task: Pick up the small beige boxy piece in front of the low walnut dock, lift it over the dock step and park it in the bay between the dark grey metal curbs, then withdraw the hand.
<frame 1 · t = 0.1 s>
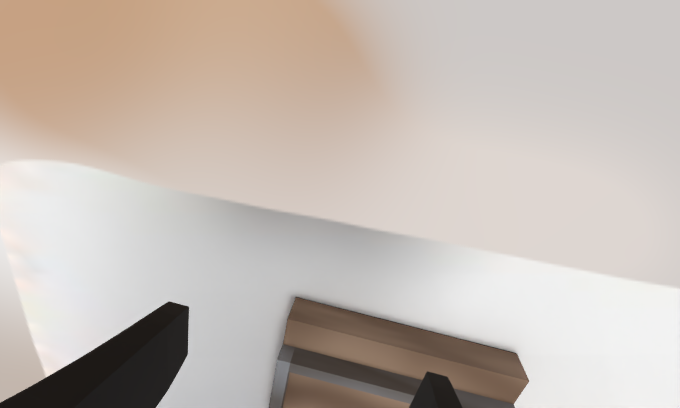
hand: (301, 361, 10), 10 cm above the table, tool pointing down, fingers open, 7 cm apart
dock: (378, 392, 24), on the table
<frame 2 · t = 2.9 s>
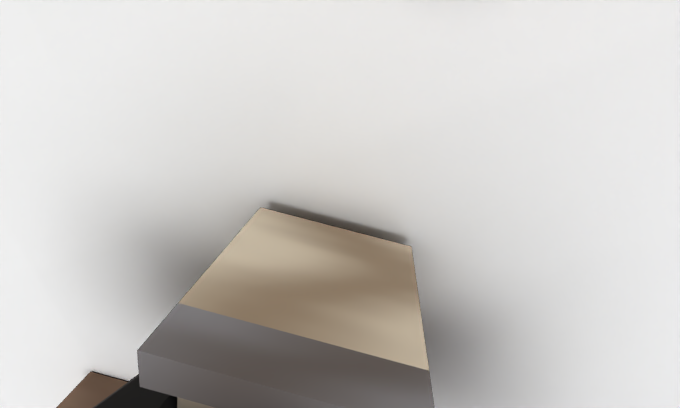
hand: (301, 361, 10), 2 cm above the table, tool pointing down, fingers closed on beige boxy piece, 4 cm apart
beige boxy piece: (313, 316, 11), on the table, touching gripper
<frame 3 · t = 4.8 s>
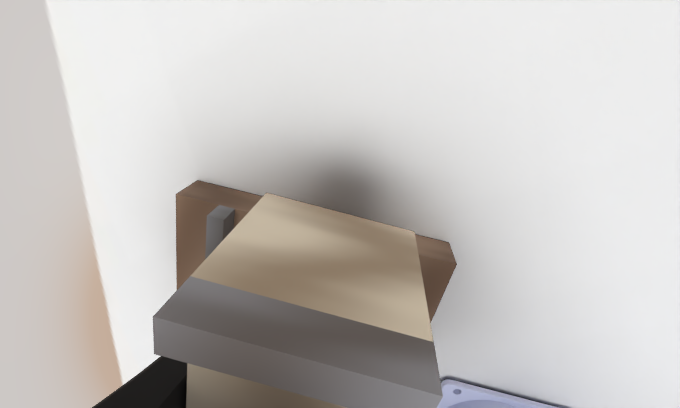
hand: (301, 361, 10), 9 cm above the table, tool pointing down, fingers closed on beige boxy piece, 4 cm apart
dock: (300, 313, 21), on the table
beige boxy piece: (317, 302, 11), point 7 cm above the table, touching gripper
when the fingers open (5 cm above the table, at t = 6.8 s): beige boxy piece drops 1 cm, resting on dock.
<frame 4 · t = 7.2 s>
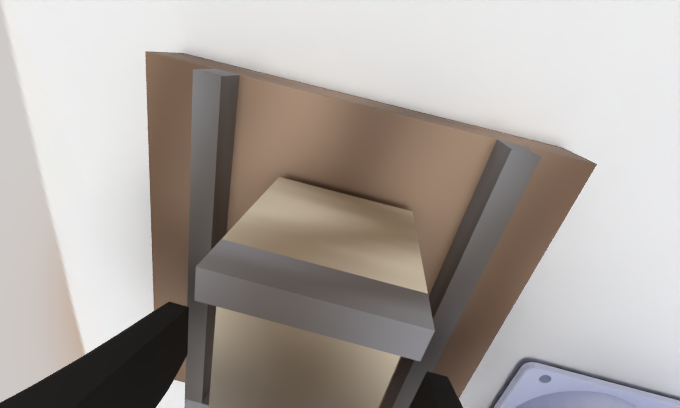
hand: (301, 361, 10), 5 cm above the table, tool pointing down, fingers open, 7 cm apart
dock: (327, 267, 15), on the table
beige boxy piece: (323, 280, 12), point 2 cm above the table, touching dock
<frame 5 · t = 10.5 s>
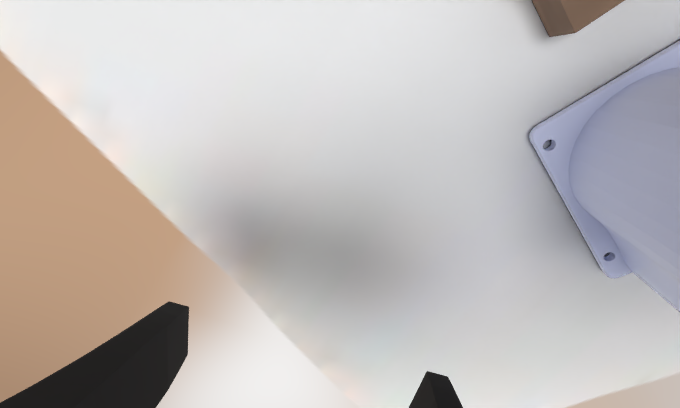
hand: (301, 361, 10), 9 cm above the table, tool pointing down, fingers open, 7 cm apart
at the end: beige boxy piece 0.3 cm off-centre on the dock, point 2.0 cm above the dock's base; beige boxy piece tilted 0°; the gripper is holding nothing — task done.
